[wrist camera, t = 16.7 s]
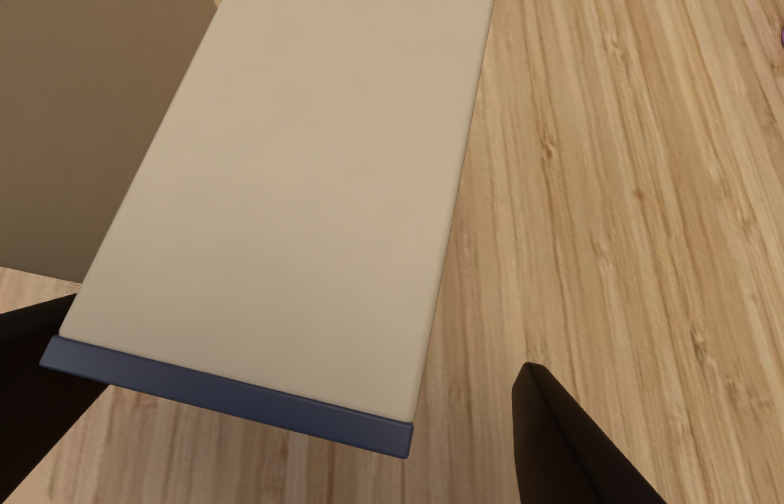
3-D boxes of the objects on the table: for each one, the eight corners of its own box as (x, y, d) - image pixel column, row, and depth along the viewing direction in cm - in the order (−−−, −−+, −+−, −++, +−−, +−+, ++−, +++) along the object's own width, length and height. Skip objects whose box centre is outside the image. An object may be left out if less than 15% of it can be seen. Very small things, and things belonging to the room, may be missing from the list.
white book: (392, 371, 15) (407, 462, 3) (318, 353, 16) (34, 366, 3) (431, 191, 18) (527, -173, 5) (367, 177, 18) (319, -205, 6)
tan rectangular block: (237, 317, 16) (-303, 201, 4) (96, 286, 16) (-850, 82, 4) (291, 154, 18) (87, -254, 6) (167, 130, 19) (-269, -302, 6)
